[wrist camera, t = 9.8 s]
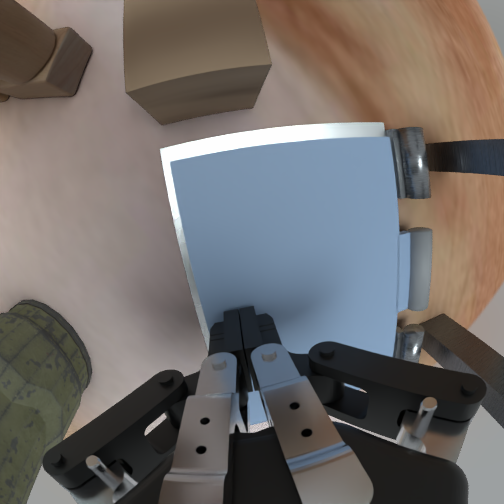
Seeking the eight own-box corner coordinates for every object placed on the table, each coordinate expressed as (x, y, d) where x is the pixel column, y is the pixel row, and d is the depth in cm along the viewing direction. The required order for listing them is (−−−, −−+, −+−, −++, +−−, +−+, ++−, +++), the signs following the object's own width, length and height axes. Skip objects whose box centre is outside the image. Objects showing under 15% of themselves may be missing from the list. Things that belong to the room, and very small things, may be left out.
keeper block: (154, 52, 12) (124, -3, 6) (238, 36, 12) (247, -26, 6) (162, 125, 13) (125, 92, 7) (252, 108, 13) (272, 64, 7)
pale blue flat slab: (171, 163, 11) (166, 159, 10) (410, 138, 13) (429, 136, 12) (238, 419, 16) (242, 437, 14) (408, 357, 17) (421, 368, 16)
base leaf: (164, 151, 13) (-1, 76, 2) (442, 128, 14) (580, 121, 3) (230, 407, 18) (243, 551, 6) (438, 342, 19) (521, 418, 7)
